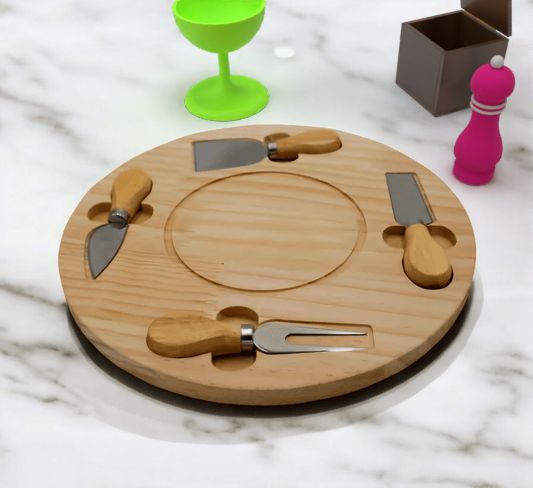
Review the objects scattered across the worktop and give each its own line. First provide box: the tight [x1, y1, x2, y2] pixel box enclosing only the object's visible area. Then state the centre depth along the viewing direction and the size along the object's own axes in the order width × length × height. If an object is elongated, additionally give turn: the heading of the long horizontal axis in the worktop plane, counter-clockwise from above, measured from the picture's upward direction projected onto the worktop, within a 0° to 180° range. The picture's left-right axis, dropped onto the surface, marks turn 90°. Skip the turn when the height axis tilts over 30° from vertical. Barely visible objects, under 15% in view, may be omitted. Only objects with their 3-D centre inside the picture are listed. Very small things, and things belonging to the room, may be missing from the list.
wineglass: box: [171, 0, 270, 122], centre depth 117 cm, size 16×16×18 cm
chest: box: [395, 9, 510, 118], centre depth 118 cm, size 13×14×12 cm
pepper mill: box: [452, 55, 516, 186], centre depth 96 cm, size 7×7×20 cm
